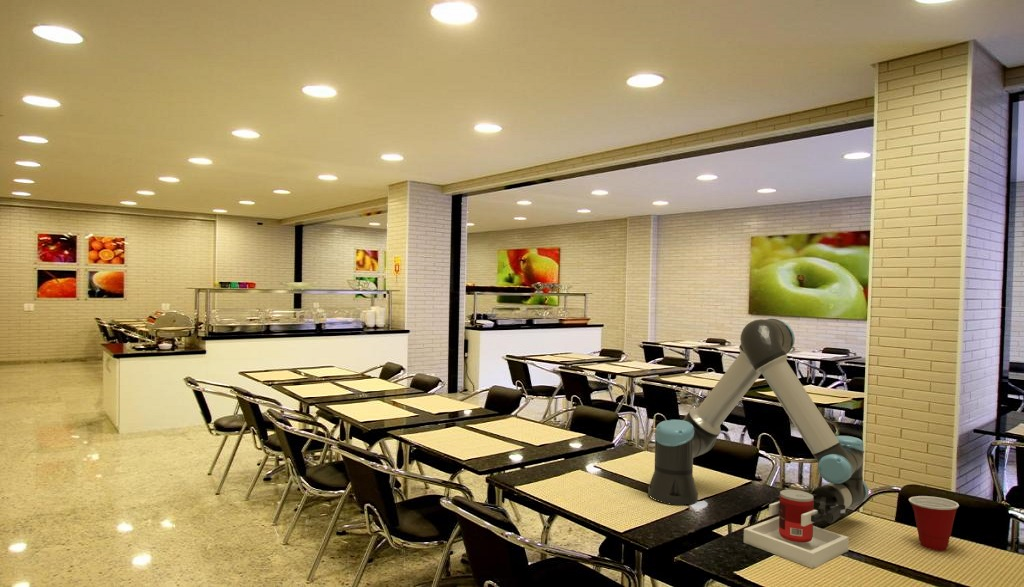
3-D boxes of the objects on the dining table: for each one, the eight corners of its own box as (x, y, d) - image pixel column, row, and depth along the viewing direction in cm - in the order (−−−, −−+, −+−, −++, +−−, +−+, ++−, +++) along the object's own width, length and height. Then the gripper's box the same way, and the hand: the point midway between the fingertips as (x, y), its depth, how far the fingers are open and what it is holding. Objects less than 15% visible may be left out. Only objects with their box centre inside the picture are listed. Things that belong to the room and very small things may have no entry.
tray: (743, 542, 158) (743, 528, 158) (780, 527, 169) (781, 515, 169) (812, 568, 144) (812, 553, 144) (848, 550, 155) (848, 537, 155)
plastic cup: (910, 534, 166) (911, 490, 166) (959, 545, 160) (960, 500, 160) (904, 546, 158) (905, 500, 158) (956, 559, 151) (957, 510, 151)
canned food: (819, 541, 154) (820, 497, 154) (794, 544, 151) (796, 500, 151) (796, 529, 161) (797, 488, 161) (772, 533, 159) (773, 490, 159)
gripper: (870, 524, 159) (827, 544, 145) (793, 501, 175) (748, 517, 162) (871, 495, 159) (828, 512, 145) (794, 475, 175) (749, 489, 162)
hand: (786, 515), depth 153 cm, fingers closed on canned food, 8 cm apart
